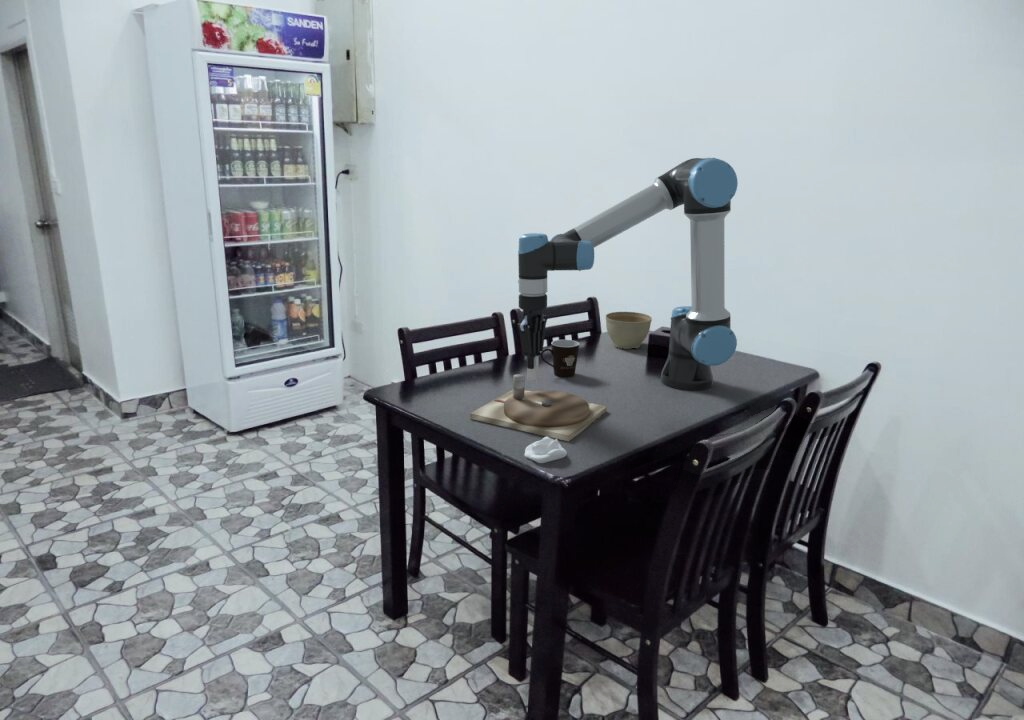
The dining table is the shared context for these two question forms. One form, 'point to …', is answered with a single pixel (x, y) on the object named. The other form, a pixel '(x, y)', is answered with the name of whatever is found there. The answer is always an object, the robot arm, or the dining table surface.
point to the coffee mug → (563, 357)
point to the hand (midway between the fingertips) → (532, 378)
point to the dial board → (496, 416)
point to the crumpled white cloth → (545, 450)
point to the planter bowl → (627, 328)
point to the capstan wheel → (544, 406)
